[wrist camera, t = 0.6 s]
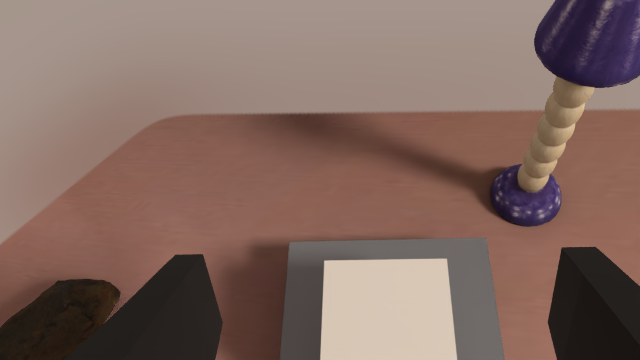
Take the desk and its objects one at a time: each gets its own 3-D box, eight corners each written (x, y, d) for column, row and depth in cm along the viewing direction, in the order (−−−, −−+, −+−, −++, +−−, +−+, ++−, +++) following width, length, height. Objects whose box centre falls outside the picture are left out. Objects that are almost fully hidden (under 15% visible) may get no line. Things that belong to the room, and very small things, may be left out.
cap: (450, 411, 24) (460, 389, 20) (332, 408, 25) (319, 387, 21) (440, 297, 27) (446, 258, 23) (335, 297, 28) (324, 260, 24)
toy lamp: (574, 182, 33) (699, -65, 19) (562, 244, 31) (693, 15, 17) (498, 163, 34) (561, -78, 21) (481, 221, 32) (540, -5, 18)
